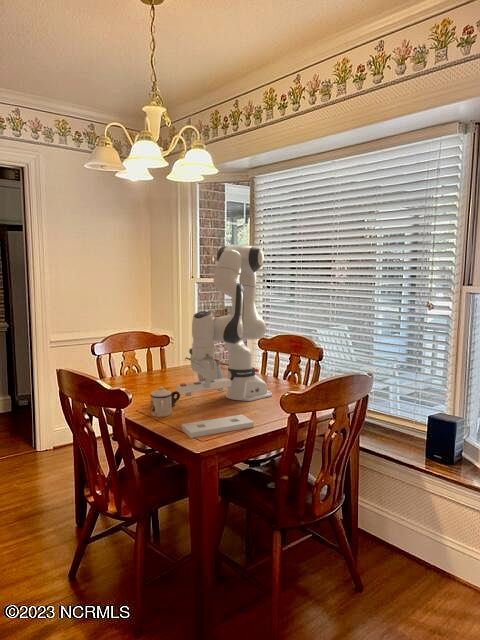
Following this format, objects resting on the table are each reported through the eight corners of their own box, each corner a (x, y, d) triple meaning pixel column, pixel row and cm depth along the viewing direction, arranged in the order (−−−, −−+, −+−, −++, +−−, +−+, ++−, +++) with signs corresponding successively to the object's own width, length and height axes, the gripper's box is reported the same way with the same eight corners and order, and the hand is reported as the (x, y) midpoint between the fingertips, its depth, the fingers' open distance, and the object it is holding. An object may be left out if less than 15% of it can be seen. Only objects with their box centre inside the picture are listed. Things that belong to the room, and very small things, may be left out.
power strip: (226, 387, 192) (226, 376, 191) (231, 390, 188) (231, 378, 187) (176, 395, 182) (176, 383, 182) (180, 398, 178) (180, 386, 178)
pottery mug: (159, 411, 198) (152, 393, 199) (157, 414, 206) (150, 397, 208) (184, 401, 202) (177, 384, 204) (181, 404, 211) (175, 388, 212)
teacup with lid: (150, 411, 196) (149, 385, 195) (171, 409, 198) (170, 383, 197) (151, 420, 184) (150, 392, 183) (173, 418, 186) (173, 391, 185)
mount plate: (242, 419, 186) (242, 414, 185) (253, 426, 177) (253, 421, 176) (181, 429, 174) (181, 424, 174) (190, 437, 165) (190, 432, 165)
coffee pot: (224, 381, 247) (224, 354, 245) (226, 387, 236) (225, 358, 234) (185, 382, 245) (184, 355, 243) (184, 388, 234) (184, 359, 232)
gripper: (221, 356, 175) (221, 391, 177) (201, 347, 193) (202, 378, 195) (205, 358, 172) (206, 393, 174) (187, 348, 190) (188, 380, 192)
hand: (204, 385), depth 185 cm, fingers closed on power strip, 4 cm apart
